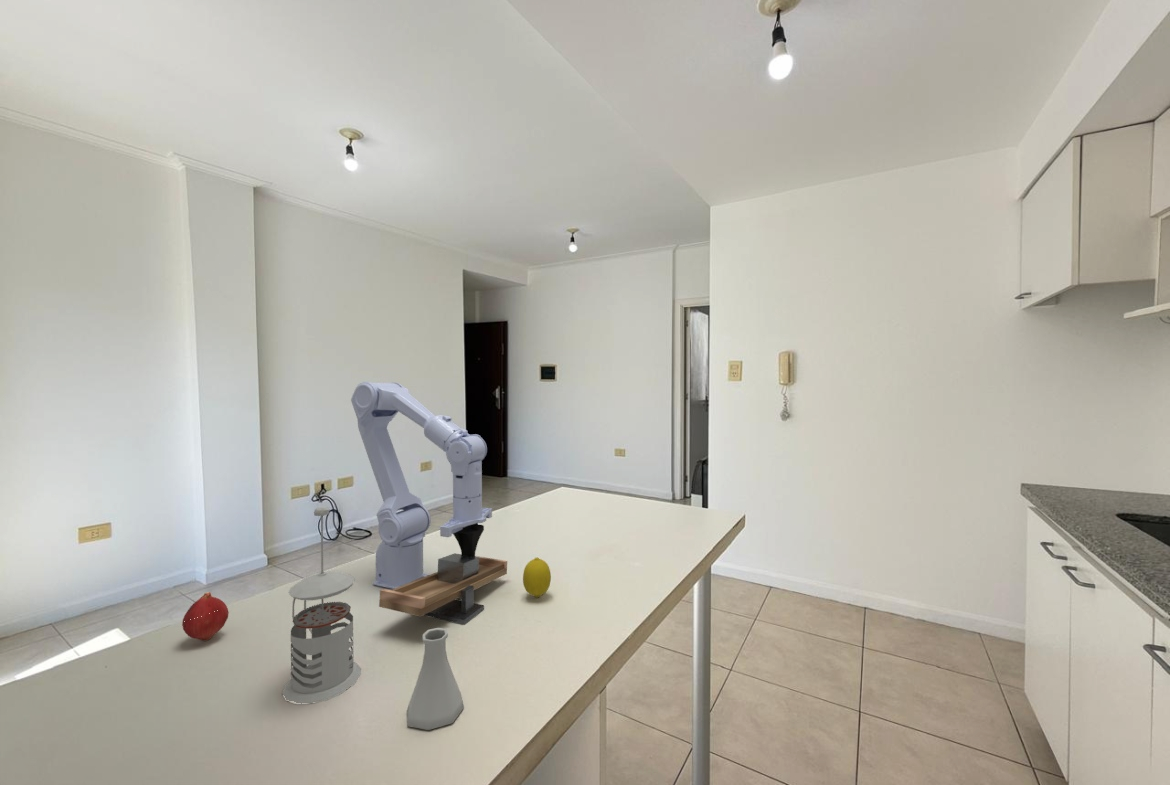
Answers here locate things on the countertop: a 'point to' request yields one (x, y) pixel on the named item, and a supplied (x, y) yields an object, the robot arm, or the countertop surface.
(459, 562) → the steel block
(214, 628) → the red pomegranate
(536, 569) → the lemon
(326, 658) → the french press
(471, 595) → the pivot stand
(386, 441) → the robot arm
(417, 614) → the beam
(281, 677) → the countertop surface
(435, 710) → the flask
